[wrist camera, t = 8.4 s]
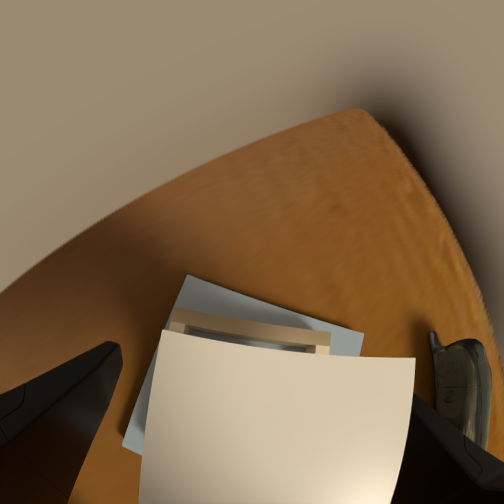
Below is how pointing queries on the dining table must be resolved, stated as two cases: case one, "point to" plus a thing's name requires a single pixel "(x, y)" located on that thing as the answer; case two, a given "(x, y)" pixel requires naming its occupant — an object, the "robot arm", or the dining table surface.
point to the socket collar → (250, 330)
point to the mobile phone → (463, 386)
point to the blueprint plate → (239, 307)
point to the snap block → (272, 425)
